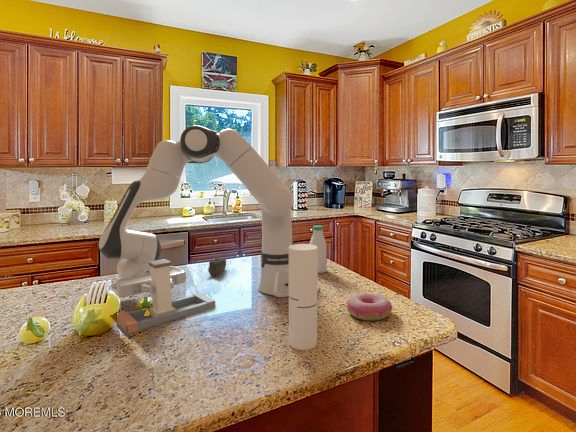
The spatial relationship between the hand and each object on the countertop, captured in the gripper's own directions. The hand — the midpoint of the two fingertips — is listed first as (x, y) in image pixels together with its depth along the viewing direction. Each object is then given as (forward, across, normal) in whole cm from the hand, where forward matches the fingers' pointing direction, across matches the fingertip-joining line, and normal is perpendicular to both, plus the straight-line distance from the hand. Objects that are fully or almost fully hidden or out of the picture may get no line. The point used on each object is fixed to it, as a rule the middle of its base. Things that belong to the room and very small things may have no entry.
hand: (162, 288), depth 98 cm
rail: (-1, +2, +10) cm, 10 cm away
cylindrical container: (+37, +20, +10) cm, 43 cm away
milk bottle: (-3, +70, +10) cm, 71 cm away
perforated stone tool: (-30, +37, +10) cm, 49 cm away
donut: (+38, +48, +10) cm, 62 cm away
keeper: (-1, 0, +8) cm, 9 cm away
